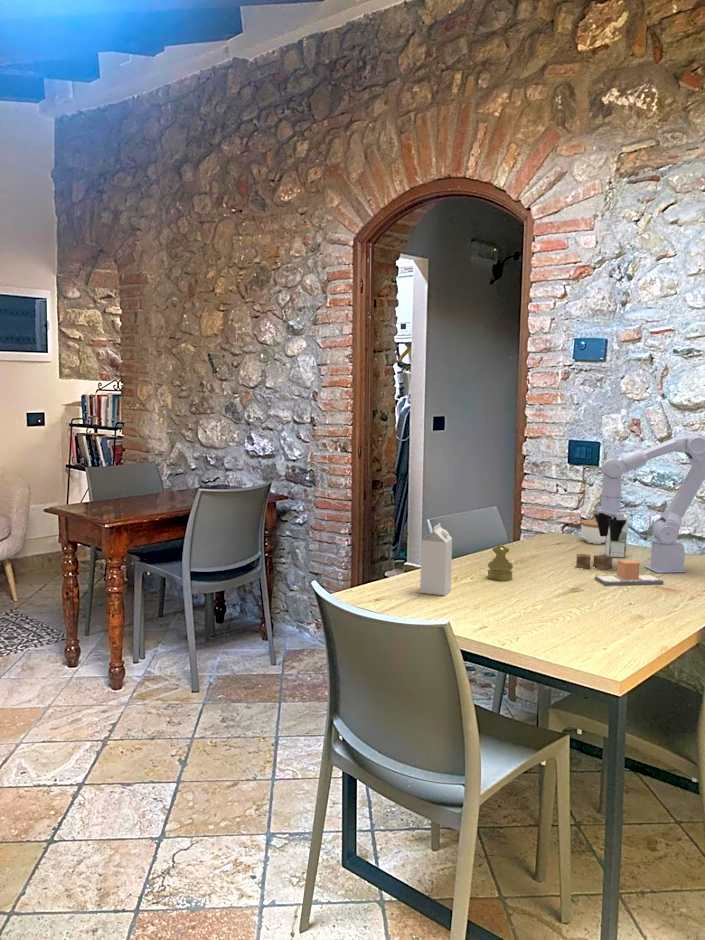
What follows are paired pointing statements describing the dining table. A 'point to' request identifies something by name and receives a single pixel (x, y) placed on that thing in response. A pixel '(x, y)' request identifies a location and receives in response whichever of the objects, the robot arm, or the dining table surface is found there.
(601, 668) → the dining table surface
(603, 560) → the walnut block
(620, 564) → the orange brown block
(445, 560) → the milk carton
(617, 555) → the syrup box
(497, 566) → the olive green tiered piece
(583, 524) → the lidded jar
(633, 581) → the board
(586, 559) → the walnut block
